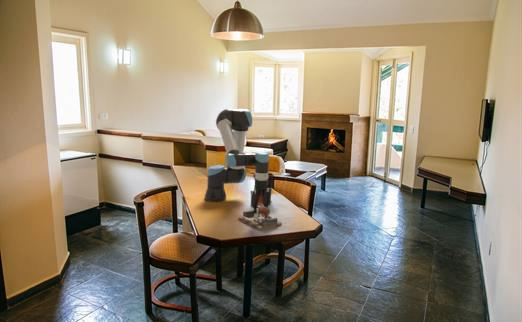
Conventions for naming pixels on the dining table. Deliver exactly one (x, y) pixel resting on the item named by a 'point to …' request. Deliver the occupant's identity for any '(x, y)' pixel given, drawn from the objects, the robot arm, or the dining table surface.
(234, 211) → the dining table surface
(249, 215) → the chassis bay
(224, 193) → the robot arm
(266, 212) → the bull figurine
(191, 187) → the dining table surface
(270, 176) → the vessel
